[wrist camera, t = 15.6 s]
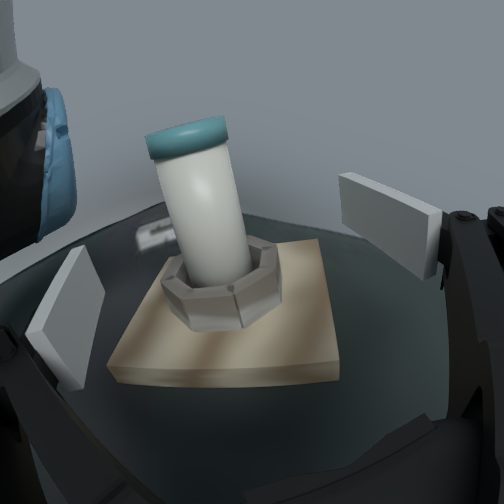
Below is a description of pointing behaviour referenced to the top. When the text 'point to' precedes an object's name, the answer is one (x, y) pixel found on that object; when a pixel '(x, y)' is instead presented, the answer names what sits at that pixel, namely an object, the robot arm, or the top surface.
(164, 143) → the canister
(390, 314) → the top surface
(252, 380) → the collar base
